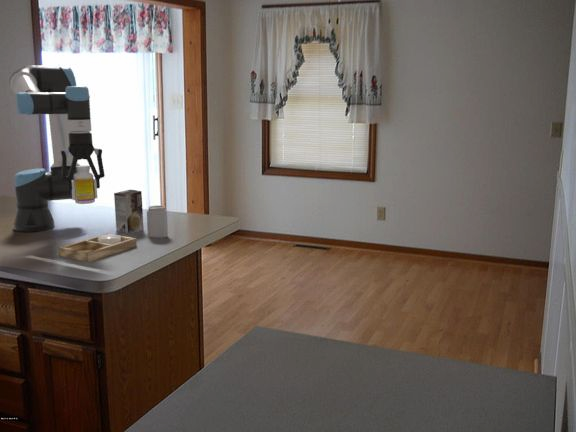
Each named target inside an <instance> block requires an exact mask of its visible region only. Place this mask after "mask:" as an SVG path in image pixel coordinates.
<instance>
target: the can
mask: <svg viewBox="0 0 576 432" xmlns="http://www.w3.org/2000/svg"><path fill="white" fill-rule="evenodd" d="M146 225H147V237H149V238H166V237H168V235H169V232H168V231H169V230H168V229H169V228H168V210H167V209H166V206H164V205H150V206H148V209H147V211H146Z"/></svg>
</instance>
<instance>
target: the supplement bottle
mask: <svg viewBox="0 0 576 432" xmlns="http://www.w3.org/2000/svg"><path fill="white" fill-rule="evenodd" d="M90 170H91V168H90V165H80V166H76V174H74V176H73V180H74V186H75V199H76V200H74V202H75V204H78V205H89V204H93V203H94V202H95V201H96V198H95V193H94V179H95V178H94V174H93V173H91V172H90Z"/></svg>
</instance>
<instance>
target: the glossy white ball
mask: <svg viewBox="0 0 576 432" xmlns="http://www.w3.org/2000/svg"><path fill="white" fill-rule="evenodd" d="M102 235H103V234H102ZM99 236H100V235H99ZM121 236H122V235H119V234H114V235H103V236H100V237H98V242H99V243H105V244H110V245H113V244H116V243H119V242H121Z"/></svg>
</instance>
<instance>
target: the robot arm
mask: <svg viewBox="0 0 576 432" xmlns="http://www.w3.org/2000/svg"><path fill="white" fill-rule="evenodd" d="M9 87H10V89H11V91H12V92H13V93H14V95H15V106H16V107H15V108H16V112H17V113H18V114H19V115H26V116H32V115H35V116H36V115H38V116H39V115H48V118H49V119H48V120H49V127H50V130H49V131H50V137H51V138H50V139H51V147H52V156H53V157H52V158H53V164H52V165H51V166H50V167H49V168H50V171H47V170H46V169H45V168H44V167H43V168H41V167H39V168H31V169H25V170H22V171H19V172H17V173H16V174H15V175H14V180H13V181H14V185H13V186H14V189H15V191H14V192H15V200H16V213H15V218H14V221H13V230H14V231H17V232H21V233H22V232H24V233H25V232H27V233H28V232H29V233H30V232H31V233H32V232H41V231H48V230H49V229H50V230H51V229H53V228H54V227H55V220H54V218H53V215H52V213H51V211H50V208H49V201H50V202H51V201H63V200H72V201H75V200H76V199H75V186H74V180H73V176H74V174H76V166H81V164H79V162H78V161H81V160H86V161H87V163H88V166H90V170H91V172H92V174H93V179H94V193H95V199H98V189H100V188H101V186H100V185H101V184H100V183H101V181H100V179H102V178H105V176H106V175H105V170H104V165H103V157H102V153H103V150H102V148H96V147H94V145H93V134H92V120H91V119H92V118H91V105H90V98H91V96H90V93H89V92H90V91H89V88H88V86H84V85H81V86H80V85H79V86H78V85H77V81H76V77H75V73H74V71H73V69H71V67H69V66H66V65H65V66H64V65H59V64H58V65H38V64H37V65H33V64H32V65H31V64H30V65H26V66H25V65H24V66H22V67H20V68H18V69H16V70H14V72H13V73H12V74H11V75H10V78H9ZM93 153H95V155H96V159H97V161H96V162H97V167H98V170H97V169H96V167H95V164H94V162H93V159H92V157H91V156H92V154H93Z"/></svg>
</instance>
